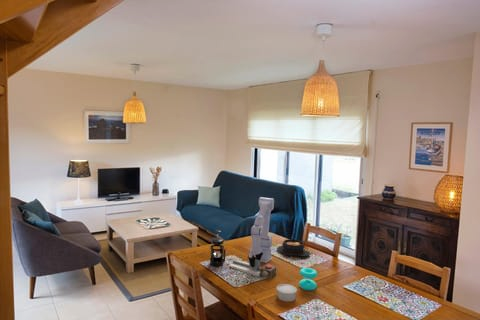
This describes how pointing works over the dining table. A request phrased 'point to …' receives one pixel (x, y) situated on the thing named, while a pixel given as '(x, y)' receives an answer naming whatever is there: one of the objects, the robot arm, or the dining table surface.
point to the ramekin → (286, 292)
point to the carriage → (257, 264)
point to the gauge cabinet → (267, 272)
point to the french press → (217, 258)
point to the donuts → (308, 279)
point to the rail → (244, 267)
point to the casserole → (293, 248)
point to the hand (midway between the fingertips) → (255, 265)
